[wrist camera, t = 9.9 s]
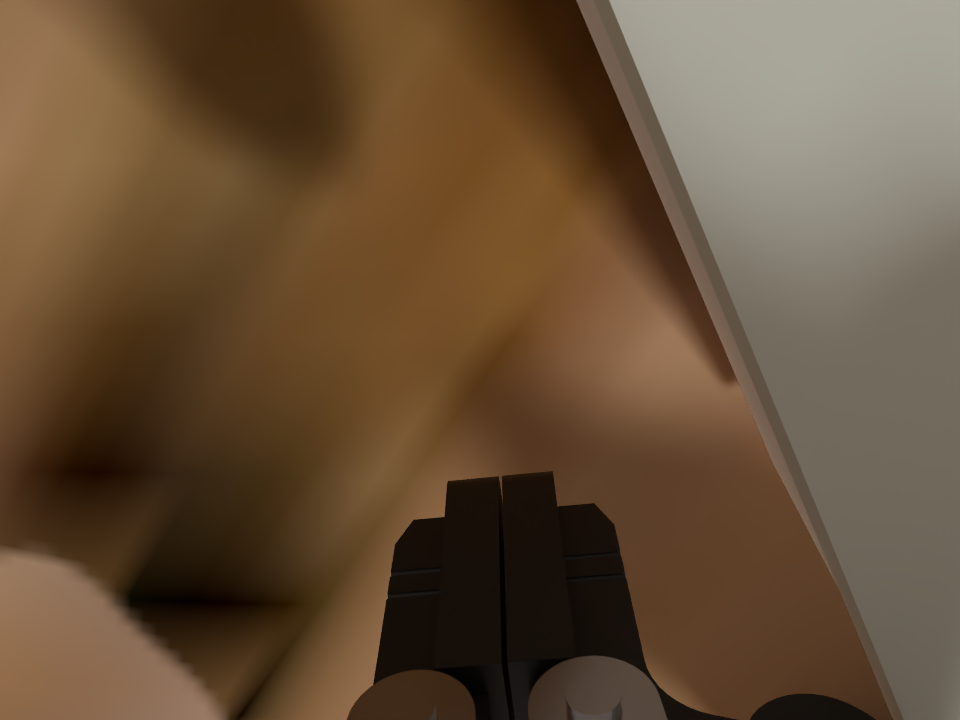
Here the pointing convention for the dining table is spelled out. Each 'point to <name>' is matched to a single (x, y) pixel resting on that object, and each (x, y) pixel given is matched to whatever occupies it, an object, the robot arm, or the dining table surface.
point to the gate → (827, 275)
